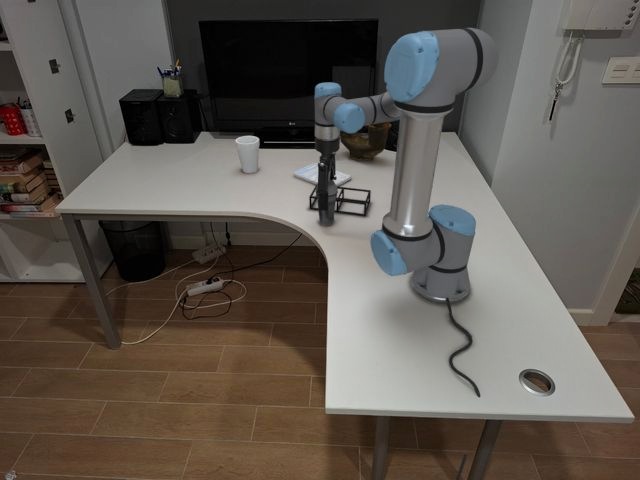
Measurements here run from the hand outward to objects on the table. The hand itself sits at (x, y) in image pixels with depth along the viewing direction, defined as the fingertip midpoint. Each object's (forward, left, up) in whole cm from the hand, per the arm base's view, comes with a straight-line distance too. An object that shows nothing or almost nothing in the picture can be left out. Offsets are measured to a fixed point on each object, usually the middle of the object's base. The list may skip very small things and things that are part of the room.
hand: (326, 203), depth 146 cm
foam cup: (+33, +41, -7) cm, 53 cm away
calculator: (+33, +10, -7) cm, 35 cm away
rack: (+12, -2, -7) cm, 14 cm away
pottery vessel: (+57, -2, -7) cm, 57 cm away
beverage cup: (0, 0, -7) cm, 7 cm away
